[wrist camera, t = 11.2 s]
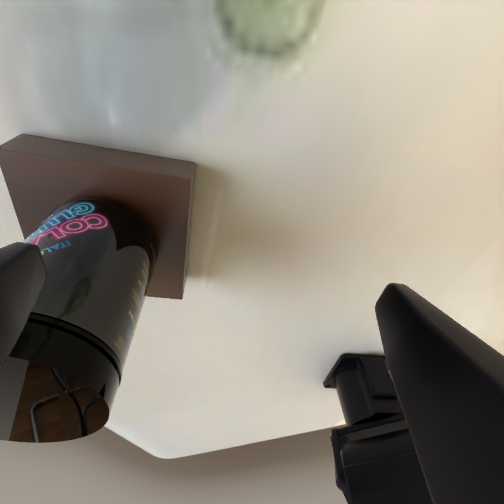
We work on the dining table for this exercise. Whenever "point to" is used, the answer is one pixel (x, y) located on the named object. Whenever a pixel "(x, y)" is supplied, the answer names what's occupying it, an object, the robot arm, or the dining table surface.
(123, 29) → the dining table surface
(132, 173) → the walnut block
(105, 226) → the supplement container
